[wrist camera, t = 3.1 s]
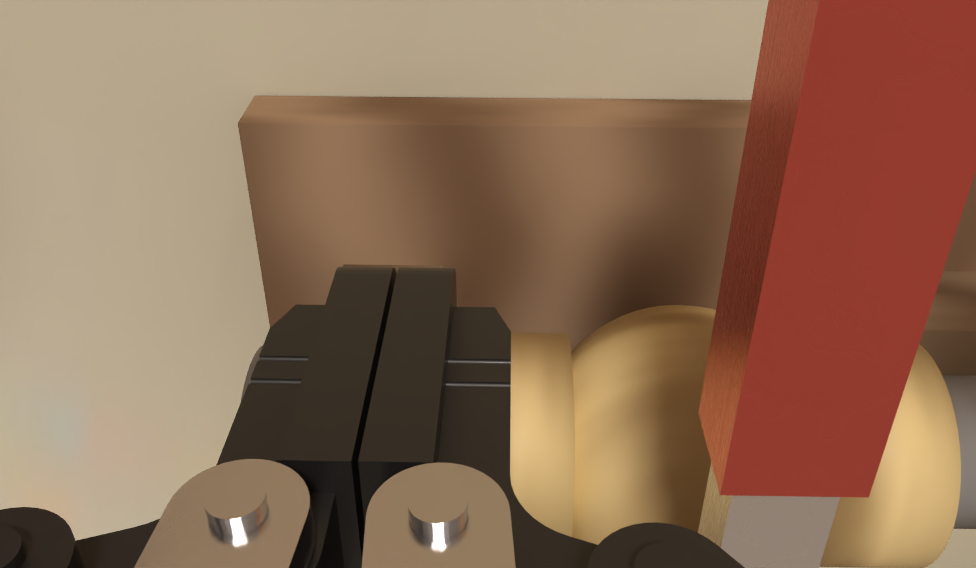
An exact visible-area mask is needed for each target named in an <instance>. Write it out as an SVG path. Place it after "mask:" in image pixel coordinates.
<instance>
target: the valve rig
mask: <svg viewBox="0 0 976 568" xmlns="http://www.w3.org/2000/svg"><path fill="white" fill-rule="evenodd" d="M751 101H752V100H658V99H549V98H440V97H330V96H254V98H253V100H252V101H251V103H250V105H249V106H248V108H247V109H246V111H245V113H244V114H243V116H242V117H241V119H240V121H239V122H238V127H239V133H240V140H241V146H242V152H243V159H244V165H245V171H246V178H247V184H248V190H249V197H250V203H251V209H252V216H253V222H254V228H255V235H256V241H257V247H258V254H259V260H260V266H261V272H262V279H263V285H264V291H265V298H266V304H267V310H268V317H269V323H270V328H271V327H272V326H273V325H274V324H275V323H276V322H277V321H278V320H279V319H280V318H282V317H283V316H284V315H285V314H286V313H287V312H288V311H289V310H290V309H291V308H292V307H294V306H295V305H296V304H301V305H325V303H326V300H327V297H328V294H329V291H330V288H331V284H332V281H333V278H334V275H335V272H336V269H337V268H338V267H394V268H395V269H396V272H397V271H398V268H399V267H409V268H455V271H456V292H457V307H495V308H496V310H497V311H498V313H499V314H500V316H501V317H502V319H503V320H504V322H505V323H506V325H507V326H508V328H509V329H510V331H511V418H510V478H511V485H512V488H513V491H514V494H515V496H516V497H517V499H518V501H519V503H520V504H521V505H522V506H523V508H524V509H525V510H526V511H527V512H528V513H529V514H530V515H531V516H532V517H533V518H534V519H536V520H537V521H539V522H540V523H542V524H543V525H545V526H546V527H548V528H550V529H552V530H554V531H556V532H559V533H562V534H564V535H567V536H570V537H573V538H577V539H580V540H583V541H587V542H590V543H594V544H597V545H599V543H600V542H601V541H602V540H603V539H605V538H606V537H607V536H608V535H610V534H611V533H613V532H615V531H617V530H619V529H621V528H624V527H627V526H630V525H633V524H640V523H655V522H658V523H667V524H673V525H677V526H681V527H684V528H687V529H690V530H692V531H695V532H697V533H698V529H699V524H700V519H701V513H702V508H703V503H704V498H705V492H706V487H707V482H708V476H709V471H710V466H711V459H710V455H709V452H708V448H707V444H706V440H705V437H704V433H703V429H702V425H701V421H700V418H699V414H698V412H699V406H700V400H701V394H702V389H703V383H704V377H705V371H706V365H707V359H708V353H709V348H710V342H711V336H712V330H713V324H714V318H715V312H716V307H717V301H718V295H719V289H720V283H721V277H722V271H723V265H724V260H725V254H726V248H727V242H728V236H729V230H730V224H731V219H732V213H733V207H734V201H735V195H736V189H737V183H738V178H739V172H740V166H741V160H742V154H743V148H744V142H745V137H746V131H747V125H748V119H749V113H750V107H751ZM262 348H263V346H261V347H260V348H259V349H258V351H257V352H256V354H255V356H254V357H253V360H252V362H251V364H250V367H249V370H248V373H247V376H246V380H245V384H244V388H243V393H242V398H241V401H242V399H243V396H244V394H245V391H246V389H247V386H248V384H250V383H251V376H252V373H253V371H254V368H255V365H256V363H257V361H259V359H260V357H259V355H260V353H261V350H262ZM953 528H954V529H976V172H975V175H974V178H973V181H972V184H971V187H970V190H969V193H968V196H967V199H966V203H965V206H964V209H963V212H962V215H961V218H960V221H959V224H958V227H957V230H956V233H955V236H954V239H953V242H952V245H951V248H950V251H949V254H948V257H947V261H946V264H945V267H944V270H943V273H942V276H941V279H940V282H939V285H938V288H937V291H936V294H935V297H934V300H933V303H932V306H931V309H930V312H929V315H928V318H927V322H926V325H925V328H924V331H923V334H922V337H921V340H920V343H919V346H918V349H917V352H916V355H915V358H914V361H913V364H912V367H911V370H910V373H909V376H908V379H907V383H906V386H905V389H904V392H903V395H902V398H901V401H900V404H899V407H898V410H897V413H896V416H895V419H894V422H893V425H892V428H891V431H890V434H889V437H888V440H887V444H886V447H885V450H884V453H883V456H882V459H881V462H880V465H879V468H878V471H877V474H876V477H875V480H874V483H873V486H872V489H871V492H870V495H869V498H867V497H840V500H839V503H838V507H837V510H836V513H835V516H834V520H833V523H832V526H831V530H830V533H829V536H828V539H827V543H826V546H825V549H824V553H823V556H822V559H821V563H820V566H819V567H878V568H923V567H927V566H928V565H930V564H932V563H933V562H934V561H935V560H936V559H937V558H938V557H939V556H940V555H941V553H942V552H943V550H944V549H945V547H946V545H947V543H948V541H949V539H950V536H951V533H952V531H953Z"/></svg>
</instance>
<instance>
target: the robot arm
mask: <svg viewBox="0 0 976 568" xmlns="http://www.w3.org/2000/svg"><path fill="white" fill-rule="evenodd" d="M259 357H260V359H259V361H257V363H256V365H255V368H254V371H253V373H252V376H251V383H250V384H248V386H247V389H246V391H245V394H244V396H243V399H242V401H241V404H240V406H239V409H238V412H237V414H236V417H235V419H234V422H233V424H232V427H231V430H230V432H229V435H228V437H227V440H226V442H225V445H224V447H223V450H222V453H221V455H220V458H219V460H218V463H217V465H216V466H214V467H211V468H209V469H207V470H205V471H203V472H201V473H199V474H198V475H196V476H194V477H193V478H191V479H190V480H189V481H188V482H186V483H185V484H184V485H183V486H182V487H181V488H180V489H179V490H178V491H177V492H176V493H175V494H174V495H173V497H172V499H171V500H170V502H169V503H168V505H167V507H166V509H165V511H164V512H163V514H162V516H161V518H160V519H158V520H155V521H153V522H150V523H148V524H144V525H141V526H137V527H134V528H129V529H125V530H121V531H116V532H112V533H108V534H103V535H99V536H95V537H90V538H86V539H82V540H77V541H75V538H74V536H73V533H72V531H71V528H70V526H69V525H68V524H67V523H66V521H65V520H64V519H63V518H61V517H60V516H58V515H57V514H55V513H52V512H50V511H48V510H44V509H39V508H30V507H19V508H9V509H3V510H0V568H745V567H743V566H742V565H741V564H740V563H739V562H737V561H736V560H735V559H734V558H732V557H731V556H730V555H729V554H728V553H726V552H725V551H724V550H723V549H722V548H720V547H719V546H718V545H716V544H715V543H714V542H712V541H711V540H709V539H708V538H706V537H705V536H703V535H701V534H699V533H697V532H695V531H692V530H690V529H687V528H684V527H681V526H677V525H673V524H667V523H658V522H655V523H640V524H633V525H630V526H627V527H624V528H621V529H619V530H617V531H615V532H613V533H611V534H610V535H608V536H607V537H606V538H605V539H603V540H602V541H601V542H600V543H599V545H597V544H594V543H590V542H587V541H583V540H580V539H577V538H573V537H570V536H567V535H564V534H562V533H559V532H556V531H554V530H552V529H550V528H548V527H546V526H545V525H543V524H542V523H540V522H539V521H537V520H536V519H534V518H533V517H532V516H531V515H530V514H529V513H528V512H527V511H526V510H525V509H524V508H523V506H522V505H521V504H520V503H519V501H518V499H517V497H516V496H515V494H514V491H513V488H512V485H511V478H510V418H511V331H510V329H509V328H508V326H507V325H506V323H505V322H504V320H503V319H502V317H501V316H500V314H499V313H498V311H497V310H496V308H495V307H457V292H456V271H455V268H409V267H399V268H398V271H397V272H396V269H395V268H394V267H338V268H337V269H336V272H335V275H334V278H333V281H332V284H331V288H330V291H329V294H328V297H327V300H326V303H325V305H301V304H296V305H295V306H294V307H292V308H291V309H290V310H289V311H288V312H287V313H286V314H285V315H284V316H283V317H282V318H280V319H279V320H278V321H277V322H276V323H275V324H274V325H273V326H272V327H271V328H270V330H269V332H268V335H267V337H266V340H265V342H264V345H263V348H262V350H261V353H260V355H259Z"/></svg>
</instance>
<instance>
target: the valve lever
mask: <svg viewBox="0 0 976 568" xmlns="http://www.w3.org/2000/svg"><path fill="white" fill-rule="evenodd" d="M975 172H976V0H769V2H768V8H767V13H766V19H765V25H764V31H763V37H762V43H761V49H760V54H759V60H758V66H757V72H756V78H755V84H754V90H753V95H752V101H751V107H750V113H749V119H748V125H747V131H746V137H745V142H744V148H743V154H742V160H741V166H740V172H739V178H738V183H737V189H736V195H735V201H734V207H733V213H732V219H731V224H730V230H729V236H728V242H727V248H726V254H725V260H724V265H723V271H722V277H721V283H720V289H719V295H718V301H717V307H716V312H715V318H714V324H713V330H712V336H711V342H710V348H709V353H708V359H707V365H706V371H705V377H704V383H703V389H702V394H701V400H700V406H699V412H698V414H699V418H700V421H701V425H702V429H703V433H704V437H705V440H706V444H707V448H708V452H709V455H710V459H711V466H710V471H709V476H708V482H707V487H706V492H705V498H704V503H703V508H702V513H701V519H700V524H699V529H698V533H699V534H701V535H703V536H705V537H706V538H708V539H709V540H711V541H712V542H714V543H715V544H716V545H718V546H719V547H720V548H722V549H723V550H724V551H725V552H726V553H728V554H729V555H730V556H731V557H732V558H734V559H735V560H736V561H737V562H739V563H740V564H741V565H742V566H743V567H745V568H819V566H820V563H821V559H822V556H823V553H824V549H825V546H826V543H827V539H828V536H829V533H830V530H831V526H832V523H833V520H834V516H835V513H836V510H837V507H838V503H839V500H840V497H867V498H869V495H870V492H871V489H872V486H873V483H874V480H875V477H876V474H877V471H878V468H879V465H880V462H881V459H882V456H883V453H884V450H885V447H886V444H887V440H888V437H889V434H890V431H891V428H892V425H893V422H894V419H895V416H896V413H897V410H898V407H899V404H900V401H901V398H902V395H903V392H904V389H905V386H906V383H907V379H908V376H909V373H910V370H911V367H912V364H913V361H914V358H915V355H916V352H917V349H918V346H919V343H920V340H921V337H922V334H923V331H924V328H925V325H926V322H927V318H928V315H929V312H930V309H931V306H932V303H933V300H934V297H935V294H936V291H937V288H938V285H939V282H940V279H941V276H942V273H943V270H944V267H945V264H946V261H947V257H948V254H949V251H950V248H951V245H952V242H953V239H954V236H955V233H956V230H957V227H958V224H959V221H960V218H961V215H962V212H963V209H964V206H965V203H966V199H967V196H968V193H969V190H970V187H971V184H972V181H973V178H974V175H975Z"/></svg>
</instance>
